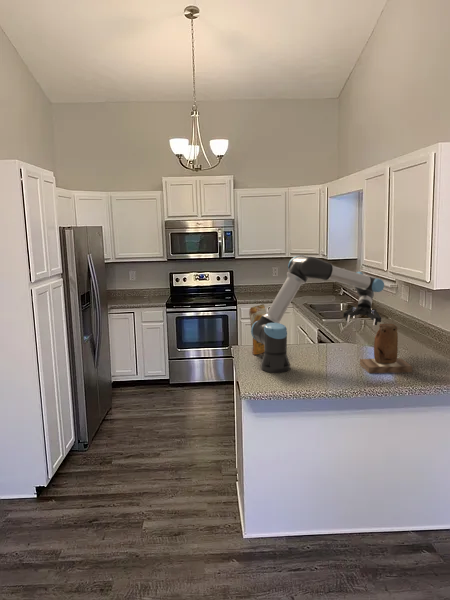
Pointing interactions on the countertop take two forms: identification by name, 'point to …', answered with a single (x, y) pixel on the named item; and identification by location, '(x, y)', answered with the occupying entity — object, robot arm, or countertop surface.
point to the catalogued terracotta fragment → (386, 344)
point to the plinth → (385, 366)
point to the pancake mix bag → (254, 316)
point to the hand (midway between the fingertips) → (360, 325)
